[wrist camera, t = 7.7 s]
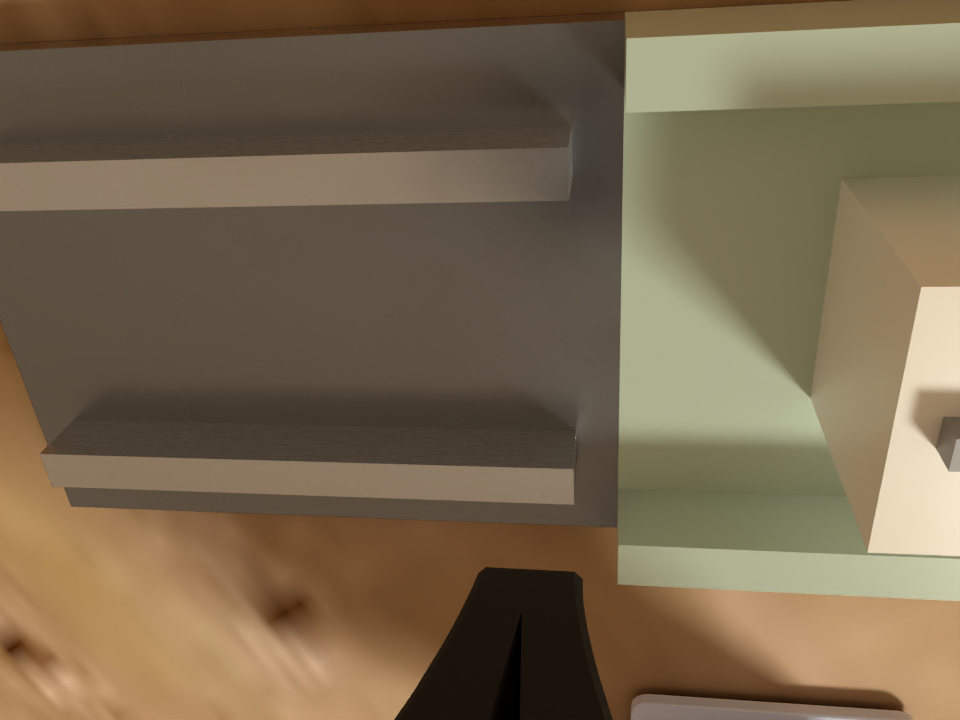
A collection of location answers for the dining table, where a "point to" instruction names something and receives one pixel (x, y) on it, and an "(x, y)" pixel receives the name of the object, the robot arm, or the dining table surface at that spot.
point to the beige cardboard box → (895, 361)
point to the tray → (758, 280)
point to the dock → (322, 267)
